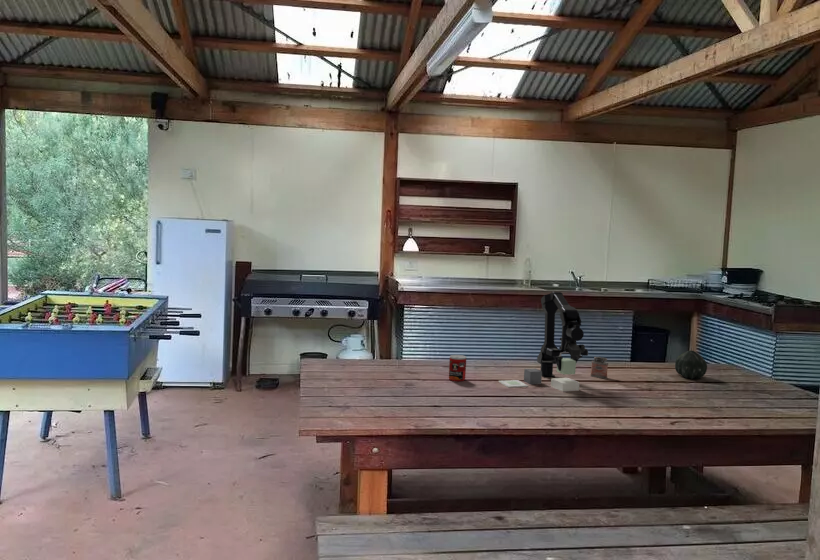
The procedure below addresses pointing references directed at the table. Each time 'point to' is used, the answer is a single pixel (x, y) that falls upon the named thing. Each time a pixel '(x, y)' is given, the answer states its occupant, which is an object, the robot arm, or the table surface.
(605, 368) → the lighter
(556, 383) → the base block
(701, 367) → the squash
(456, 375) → the canned food
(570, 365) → the sage block
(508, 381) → the tile
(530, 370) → the charcoal block
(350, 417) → the table surface
